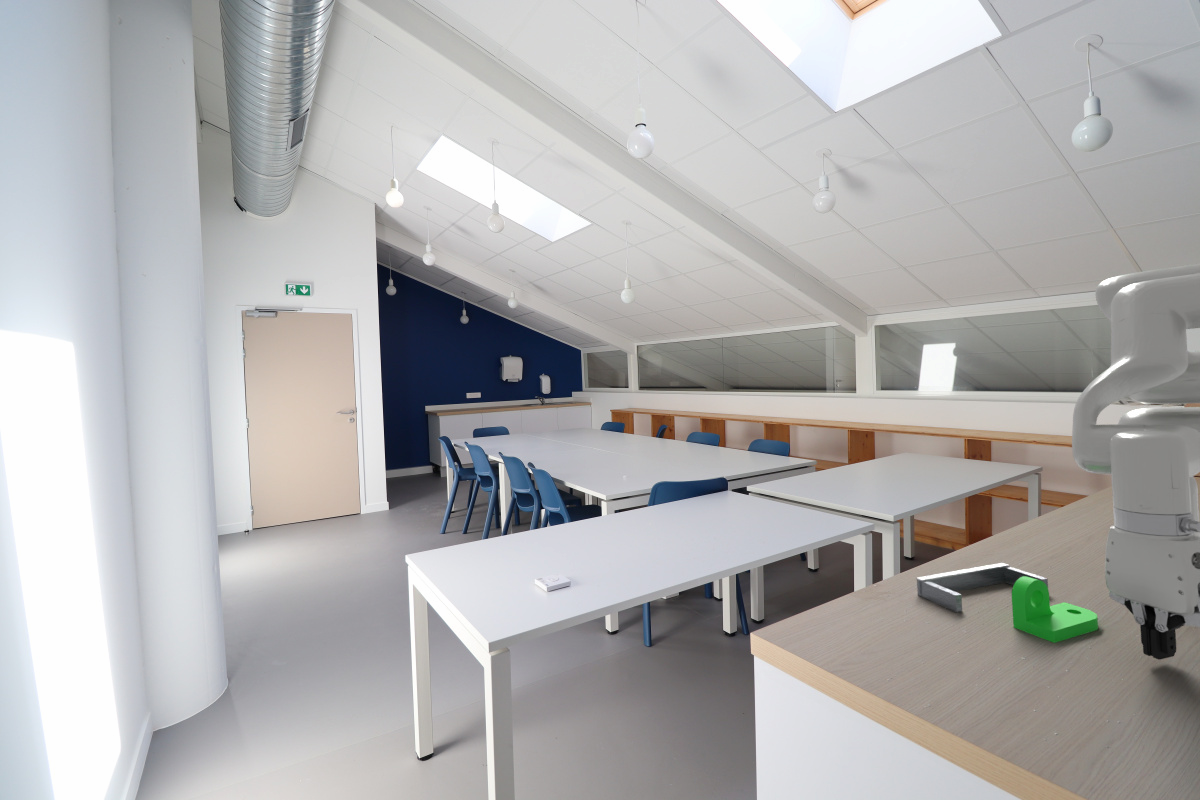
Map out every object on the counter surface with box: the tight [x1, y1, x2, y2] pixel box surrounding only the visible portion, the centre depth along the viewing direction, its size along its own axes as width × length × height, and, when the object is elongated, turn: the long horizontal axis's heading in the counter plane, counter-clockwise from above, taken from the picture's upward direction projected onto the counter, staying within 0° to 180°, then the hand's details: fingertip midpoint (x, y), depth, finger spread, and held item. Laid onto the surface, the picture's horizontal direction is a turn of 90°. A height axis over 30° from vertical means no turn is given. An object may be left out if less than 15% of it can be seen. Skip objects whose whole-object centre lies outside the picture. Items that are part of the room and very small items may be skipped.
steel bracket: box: [916, 562, 1049, 613], centre depth 101 cm, size 20×9×3 cm, turn 103°
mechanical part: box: [1011, 576, 1099, 644], centre depth 87 cm, size 12×6×8 cm, turn 108°
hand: (1159, 655), depth 75 cm, fingers closed
